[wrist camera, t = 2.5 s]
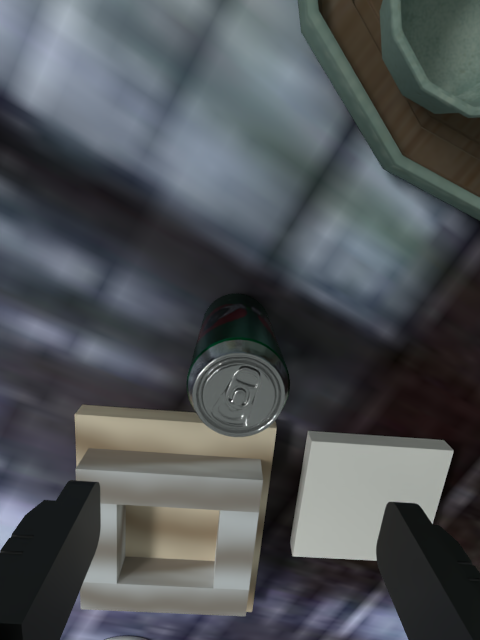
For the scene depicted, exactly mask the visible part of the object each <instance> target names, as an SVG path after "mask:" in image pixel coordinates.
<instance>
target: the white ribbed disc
mask: <svg viewBox="0 0 480 640" xmlns="http://www.w3.org/2000/svg"><path fill="white" fill-rule="evenodd" d="M105 640H148V639H145V638H141V637H136V636H118V637H112V638H108V639H105Z"/></svg>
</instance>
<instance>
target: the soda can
mask: <svg viewBox="0 0 480 640" xmlns="http://www.w3.org/2000/svg"><path fill="white" fill-rule="evenodd" d="M289 390H290V380H289V374H288V370H287V367H286V364H285V362H284V359H283V356H282V354H281V351H280V348H279V346H278V343H277V340H276V337H275V335H274V332H273V329H272V327H271V324H270V321H269V318H268V316H267V313H266V311H265V309H264V308H263V306H262V305H261V304H260V303H259V302H258V301H257V300H255V299H254V298H252V297H250V296H247V295H244V294H228V295H225V296H222V297H220V298H218V299H217V300H215V301H214V302H213V303H212V304H211V305H210V306H209V308H208V309H207V311H206V313H205V316H204V319H203V322H202V326H201V330H200V333H199V337H198V340H197V344H196V347H195V351H194V355H193V358H192V362H191V365H190V369H189V372H188V376H187V393H188V397H189V400H190V403H191V405H192V407H193V408H194V410H195V411H196V413H197V415H198V416H199V418H200V419H201V421H202V422H203V423H204V424H205V425H206V426H207V427H209V428H210V429H212V430H213V431H215V432H217V433H219V434H222V435H225V436H230V437H246V436H251V435H255V434H257V433H259V432H262V431H263V430H265V429H266V428H268V427H269V426H270V425H271V424H273V423H274V421H275V420H276V419H277V418H278V416H279V415H280V413H281V411H282V408H283V406H284V405H285V403H286V400H287V398H288V394H289Z"/></svg>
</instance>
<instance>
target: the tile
mask: <svg viewBox="0 0 480 640" xmlns="http://www.w3.org/2000/svg"><path fill="white" fill-rule="evenodd" d="M453 452H454V450H453V449H452V448H451V447H450V446H449V445H448V444H447V443H446V442H445V441H444V440H435V439H420V438H406V437H391V436H376V435H362V434H347V433H332V432H317V431H308V434H307V440H306V446H305V452H304V459H303V465H302V471H301V477H300V483H299V490H298V496H297V502H296V508H295V514H294V520H293V527H292V533H291V539H290V545H291V550H292V556H297V557H316V558H336V559H355V560H375V561H377V557H376V545H377V540H378V536H379V532H380V528H381V524H382V520H383V515H384V511H385V507H386V505H387V503H388V502H404V503H416V504H418V505H419V506H420V507H421V508H422V509H423V511H424V512H425V514H426V515H427V517H428V518H429V520H430V521H431V523H432V524H433V521H434V518H435V514H436V511H437V507H438V504H439V500H440V497H441V493H442V490H443V487H444V483H445V480H446V476H447V473H448V469H449V466H450V463H451V459H452V456H453Z"/></svg>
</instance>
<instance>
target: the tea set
mask: <svg viewBox="0 0 480 640" xmlns="http://www.w3.org/2000/svg"><path fill="white" fill-rule="evenodd" d="M298 6H299V16H300V25H301V33H302V34H303V36H304V38H305V39H306V41H307V43H308V44H309V46H310V48H311V49H312V51H313V53H314V54H315V56H316V58H317V59H318V61H319V63H320V64H321V66H322V68H323V69H324V71H325V73H326V74H327V76H328V78H329V79H330V81H331V83H332V84H333V86H334V88H335V89H336V91H337V93H338V94H339V96H340V98H341V99H342V101H343V103H344V104H345V106H346V108H347V109H348V111H349V113H350V114H351V116H352V118H353V119H354V121H355V123H356V124H357V126H358V128H359V129H360V131H361V133H362V134H363V136H364V138H365V139H366V141H367V143H368V144H369V146H370V148H371V149H372V151H373V153H374V154H375V156H376V158H377V159H378V161H379V163H380V164H381V166H382V168H383V169H385V170H386V171H388V172H390V173H392V174H394V175H396V176H398V177H399V178H401V179H403V180H405V181H407V182H409V183H411V184H413V185H414V186H416V187H418V188H420V189H422V190H424V191H426V192H427V193H429V194H431V195H433V196H435V197H437V198H439V199H440V200H442V201H444V202H446V203H448V204H450V205H452V206H453V207H455V208H457V209H459V210H461V211H463V212H465V213H466V214H468V215H470V216H472V217H474V218H476V219H478V220H479V221H480V0H298Z"/></svg>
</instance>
